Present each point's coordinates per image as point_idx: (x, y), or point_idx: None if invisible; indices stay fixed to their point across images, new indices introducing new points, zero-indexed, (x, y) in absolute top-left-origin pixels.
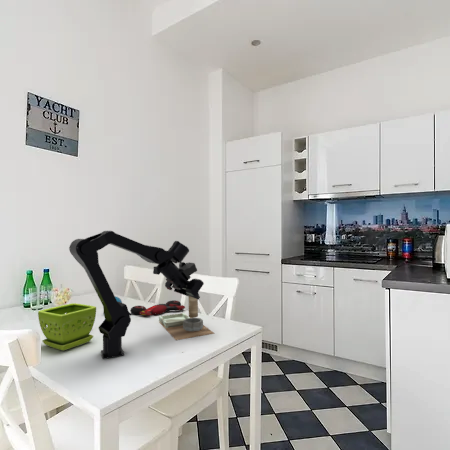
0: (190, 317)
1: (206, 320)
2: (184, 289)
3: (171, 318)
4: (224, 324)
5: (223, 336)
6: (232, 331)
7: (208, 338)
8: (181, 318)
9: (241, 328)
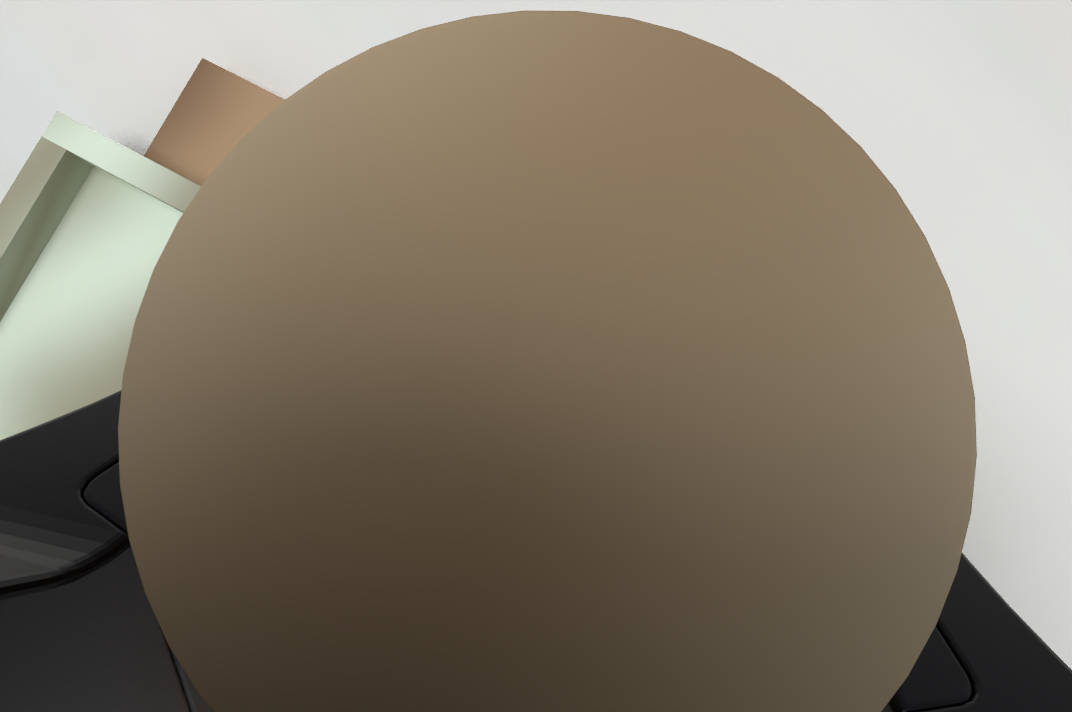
0: (198, 97)
1: (424, 8)
2: (169, 698)
3: (18, 340)
4: (743, 4)
5: (1043, 388)
6: (1014, 168)
7: None
8: (150, 253)
9: (1036, 7)
